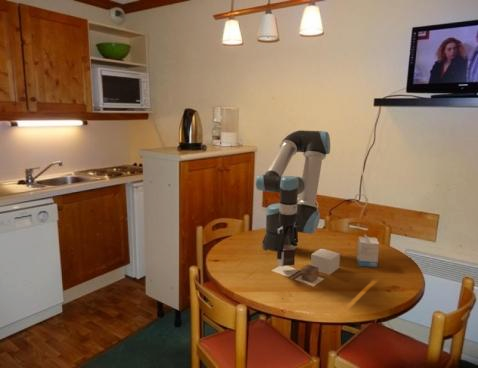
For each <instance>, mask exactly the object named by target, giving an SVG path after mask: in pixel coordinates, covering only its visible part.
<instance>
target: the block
mask: <svg viewBox="0 0 478 368" xmlns="http://www.w3.org/2000/svg"><path fill="white" fill-rule="evenodd" d="M301 271H302V272H301V279H302V280H305V281H308V282H310V283H313V282H314V281H315V280H317V279H318V277H319V271H318V267H315V266H312V265H311V264H309V263H308V264H306V265H305V266H302V268H301Z"/></svg>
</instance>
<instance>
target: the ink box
mask: <svg viewBox="0 0 478 368" xmlns="http://www.w3.org/2000/svg"><path fill="white" fill-rule="evenodd" d="M357 239H358V240H357V252H356V260H357V264H358V266H359V267H371V268H378V263H379V253H380V252H379V249H380V242H379V240H378V238H377V237H373V236H372V237H371V236H370V237H369V236H368V235H366V234H365V233H364V236H358V238H357Z"/></svg>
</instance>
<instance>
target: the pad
mask: <svg viewBox="0 0 478 368" xmlns="http://www.w3.org/2000/svg"><path fill="white" fill-rule="evenodd" d="M299 271H300V269H298V268H295V267H292V266H290V265H288V266H283V267H281V266H279V265H278V266H277V267H274V268H273V269H272V270H271V272H273V273H277V274H279V275H282V276H284V277H287V278H289V277H290V278H291V276H293V275H295V274H297V273H298V272H299Z"/></svg>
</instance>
